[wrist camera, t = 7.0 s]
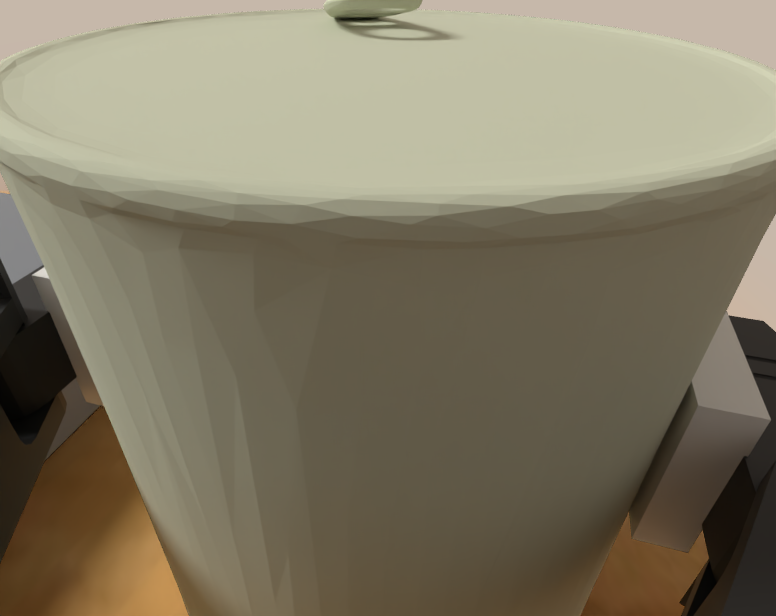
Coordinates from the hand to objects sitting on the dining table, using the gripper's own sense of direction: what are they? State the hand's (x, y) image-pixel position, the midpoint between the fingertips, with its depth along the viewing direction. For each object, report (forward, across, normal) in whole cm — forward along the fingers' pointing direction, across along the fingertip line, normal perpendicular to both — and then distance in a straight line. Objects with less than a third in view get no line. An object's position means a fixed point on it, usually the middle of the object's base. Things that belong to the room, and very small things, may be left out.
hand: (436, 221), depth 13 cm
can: (-5, 0, -7) cm, 9 cm away
